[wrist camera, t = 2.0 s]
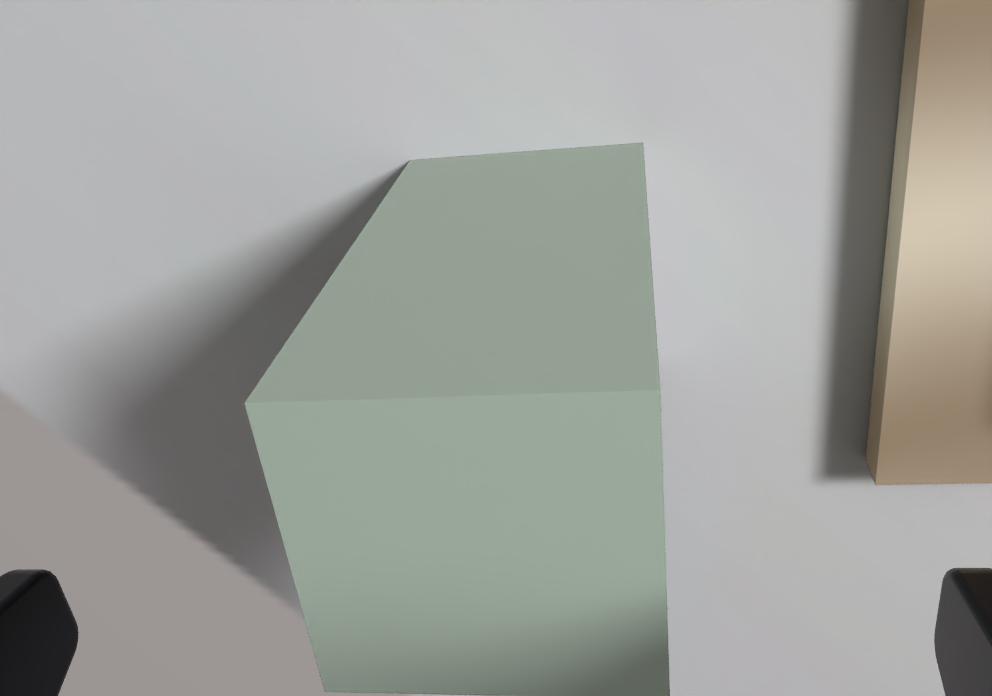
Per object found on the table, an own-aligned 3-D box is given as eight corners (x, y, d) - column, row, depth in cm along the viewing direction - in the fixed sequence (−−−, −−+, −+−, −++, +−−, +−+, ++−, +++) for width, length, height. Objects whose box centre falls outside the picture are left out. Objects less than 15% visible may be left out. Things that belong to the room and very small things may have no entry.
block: (651, 352, 17) (669, 698, 10) (441, 360, 18) (324, 691, 11) (643, 142, 15) (660, 389, 8) (410, 160, 16) (244, 403, 9)
